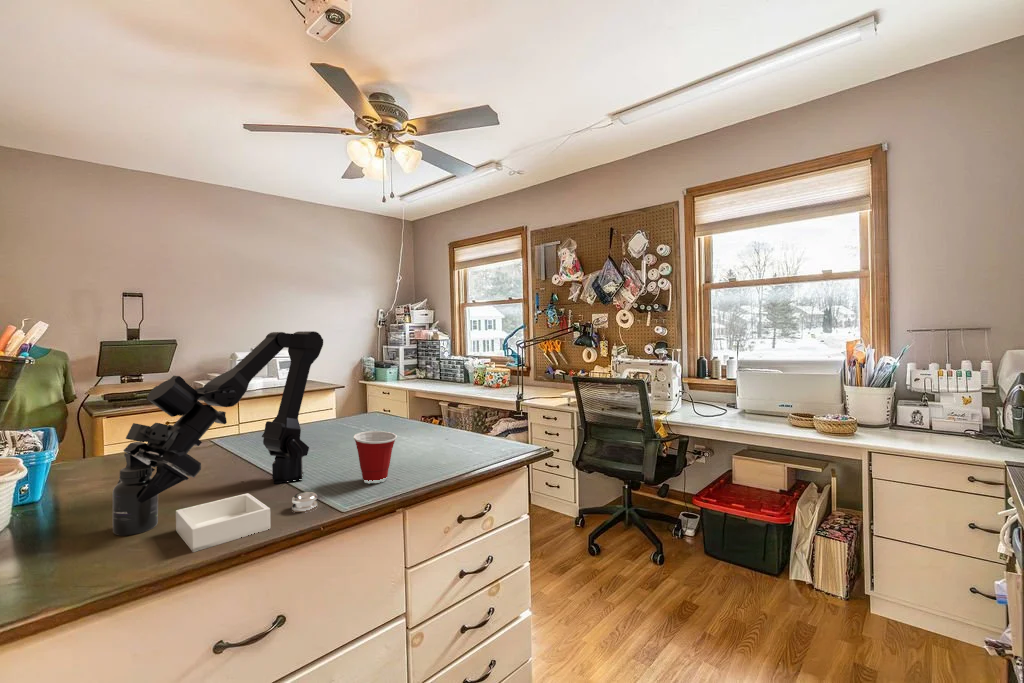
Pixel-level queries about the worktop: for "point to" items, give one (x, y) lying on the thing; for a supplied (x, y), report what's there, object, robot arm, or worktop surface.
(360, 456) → the plastic cup
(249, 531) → the bin
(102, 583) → the worktop surface
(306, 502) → the grooved metal pulley
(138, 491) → the supplement bottle
